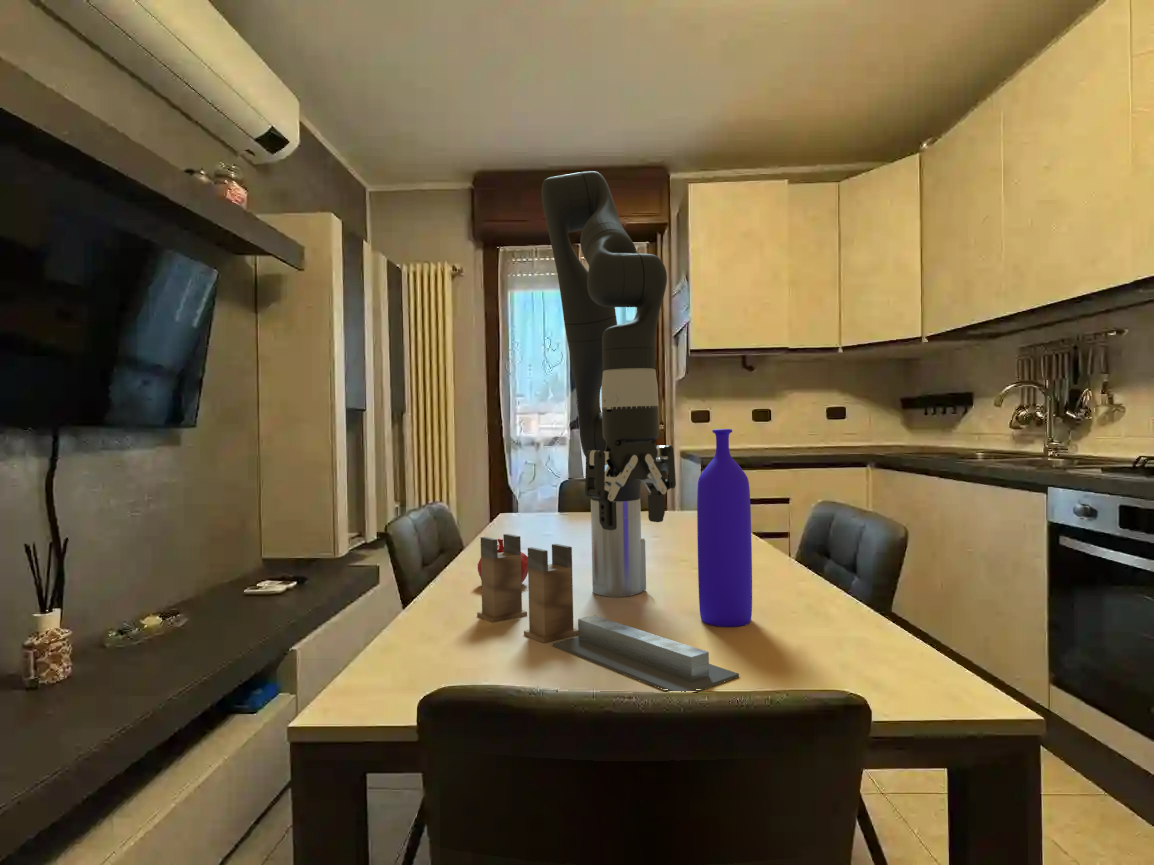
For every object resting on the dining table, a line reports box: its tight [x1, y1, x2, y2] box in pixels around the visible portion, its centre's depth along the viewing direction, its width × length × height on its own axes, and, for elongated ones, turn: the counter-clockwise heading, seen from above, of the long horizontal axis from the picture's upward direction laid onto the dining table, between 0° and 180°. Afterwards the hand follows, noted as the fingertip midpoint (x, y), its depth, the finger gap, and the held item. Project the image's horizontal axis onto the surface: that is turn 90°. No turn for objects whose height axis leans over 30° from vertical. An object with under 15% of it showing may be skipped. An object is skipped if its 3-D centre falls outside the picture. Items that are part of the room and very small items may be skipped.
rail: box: [577, 615, 710, 683], centre depth 93 cm, size 3×22×3 cm, turn 37°
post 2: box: [523, 543, 578, 644], centre depth 105 cm, size 6×5×13 cm
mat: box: [552, 636, 740, 692], centre depth 93 cm, size 10×25×1 cm, turn 38°
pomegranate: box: [477, 538, 528, 584], centre depth 139 cm, size 10×10×9 cm
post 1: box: [476, 533, 528, 623], centre depth 116 cm, size 6×5×13 cm
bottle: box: [696, 428, 753, 628], centre depth 111 cm, size 8×8×30 cm
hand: (633, 525), depth 95 cm, fingers open, 8 cm apart
